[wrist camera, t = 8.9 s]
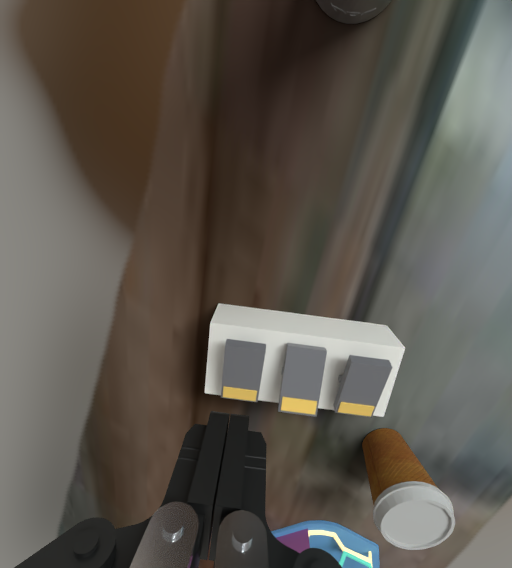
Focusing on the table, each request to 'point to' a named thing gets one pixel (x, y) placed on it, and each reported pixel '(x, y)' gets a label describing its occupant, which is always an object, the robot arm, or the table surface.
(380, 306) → the table surface
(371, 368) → the rocker
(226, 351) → the rocker
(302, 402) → the block
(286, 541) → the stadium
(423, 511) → the disposable coffee cup
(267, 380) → the console
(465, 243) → the table surface
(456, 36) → the table surface
